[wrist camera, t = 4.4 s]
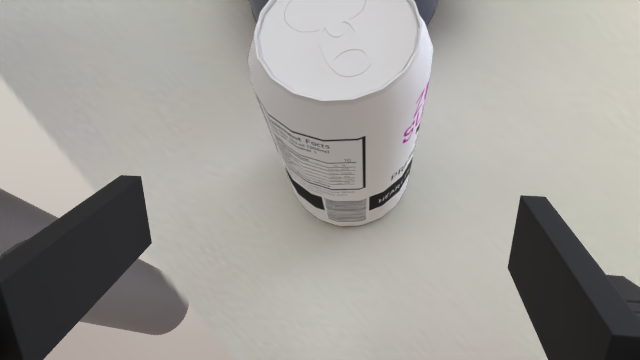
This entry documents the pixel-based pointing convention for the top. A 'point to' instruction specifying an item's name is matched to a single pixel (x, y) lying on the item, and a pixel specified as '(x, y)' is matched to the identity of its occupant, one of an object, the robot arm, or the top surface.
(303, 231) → the top surface
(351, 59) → the supplement can
